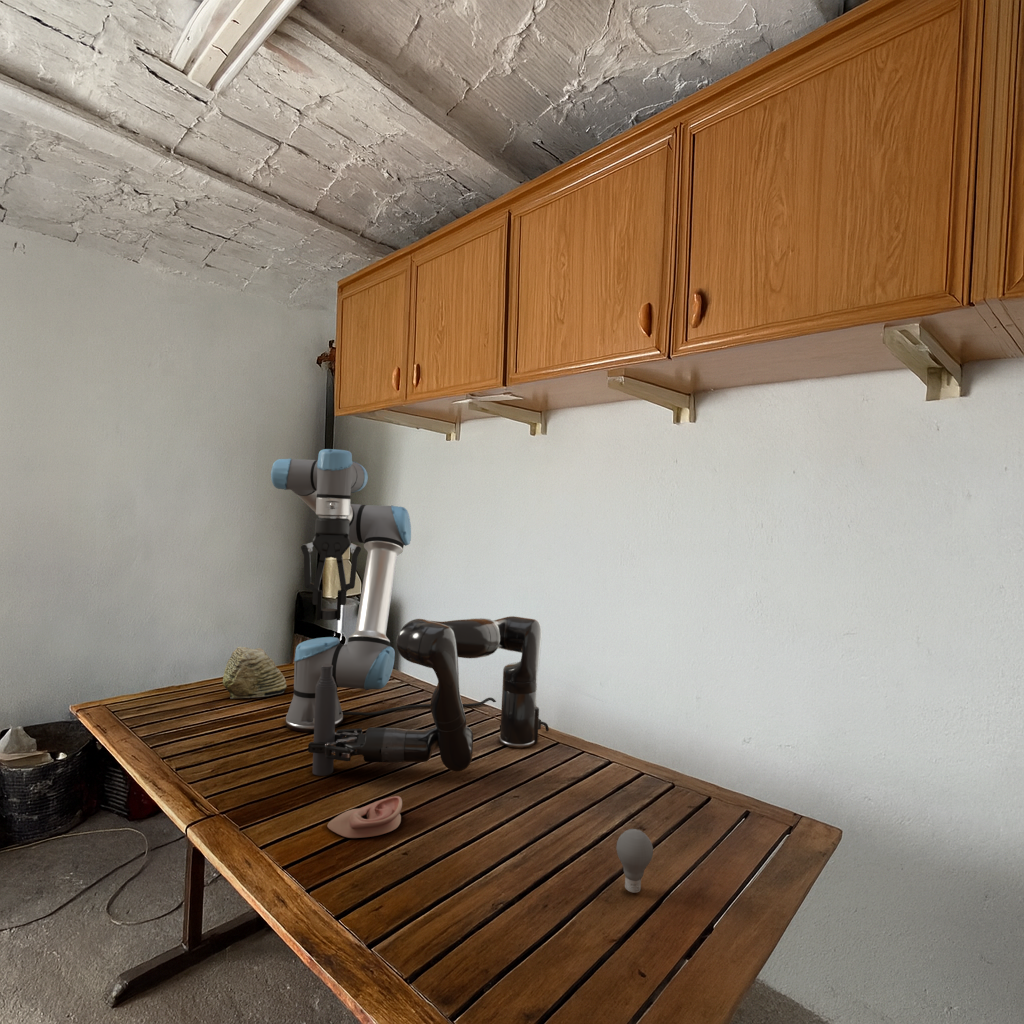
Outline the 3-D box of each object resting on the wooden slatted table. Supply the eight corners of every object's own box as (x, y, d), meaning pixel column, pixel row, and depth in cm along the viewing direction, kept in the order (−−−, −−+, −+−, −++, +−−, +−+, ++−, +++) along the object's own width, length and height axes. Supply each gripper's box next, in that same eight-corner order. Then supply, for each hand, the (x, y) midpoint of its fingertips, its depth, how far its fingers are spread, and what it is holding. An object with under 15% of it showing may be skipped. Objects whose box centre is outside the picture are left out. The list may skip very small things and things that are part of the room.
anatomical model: (320, 812, 119) (347, 786, 130) (319, 833, 119) (347, 805, 130) (386, 822, 116) (408, 795, 127) (385, 844, 116) (408, 814, 128)
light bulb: (610, 879, 108) (613, 822, 108) (644, 879, 109) (647, 822, 109) (619, 902, 102) (622, 840, 102) (655, 901, 103) (658, 840, 103)
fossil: (218, 695, 195) (220, 647, 195) (278, 685, 208) (279, 640, 207) (228, 703, 189) (230, 653, 188) (289, 692, 201) (290, 645, 201)
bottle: (336, 768, 148) (340, 663, 148) (329, 776, 143) (333, 668, 143) (316, 766, 148) (320, 662, 148) (309, 775, 144) (313, 667, 143)
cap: (327, 616, 148) (327, 607, 148) (340, 618, 146) (340, 609, 146) (317, 618, 144) (317, 610, 144) (330, 620, 143) (331, 611, 143)
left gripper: (292, 516, 139) (288, 622, 140) (370, 519, 143) (365, 622, 143) (296, 515, 147) (292, 615, 147) (370, 517, 150) (366, 616, 151)
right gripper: (391, 718, 153) (320, 716, 153) (381, 740, 139) (303, 738, 138) (390, 748, 154) (319, 746, 153) (380, 774, 139) (302, 772, 139)
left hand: (328, 618), depth 145 cm, fingers closed on cap, 4 cm apart
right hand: (312, 742), depth 146 cm, fingers closed on bottle, 4 cm apart
